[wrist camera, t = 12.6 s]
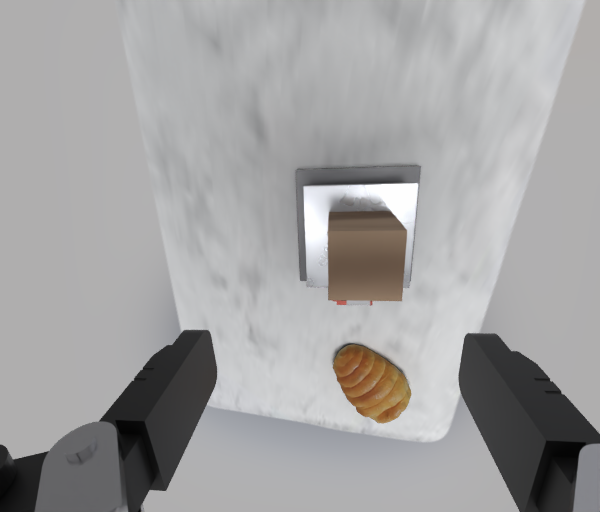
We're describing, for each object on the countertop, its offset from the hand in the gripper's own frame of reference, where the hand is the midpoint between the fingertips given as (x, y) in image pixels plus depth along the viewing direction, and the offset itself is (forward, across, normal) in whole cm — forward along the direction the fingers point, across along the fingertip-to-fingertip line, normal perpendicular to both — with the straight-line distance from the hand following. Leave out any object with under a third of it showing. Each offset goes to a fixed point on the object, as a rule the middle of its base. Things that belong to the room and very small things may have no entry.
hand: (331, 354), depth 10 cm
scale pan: (+19, -2, +3) cm, 19 cm away
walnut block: (+17, -2, +2) cm, 18 cm away
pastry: (+22, -4, +20) cm, 30 cm away
